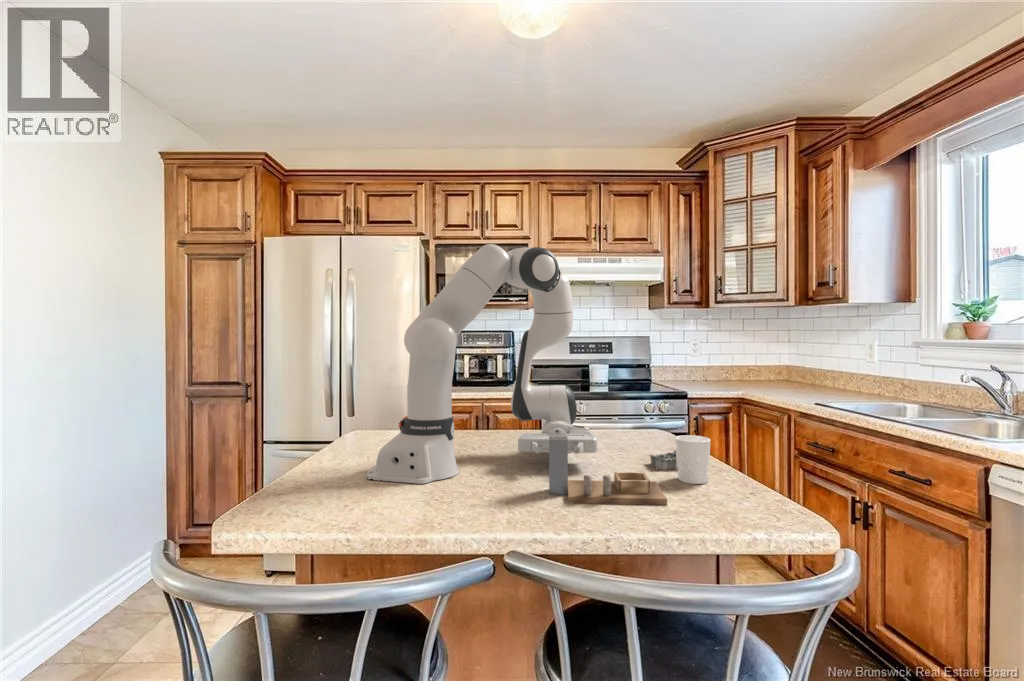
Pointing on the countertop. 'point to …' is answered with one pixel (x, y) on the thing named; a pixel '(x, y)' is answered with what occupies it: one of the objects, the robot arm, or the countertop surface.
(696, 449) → the white cup
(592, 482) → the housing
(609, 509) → the countertop surface
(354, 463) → the countertop surface
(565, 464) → the grey tall block
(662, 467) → the egg carton
